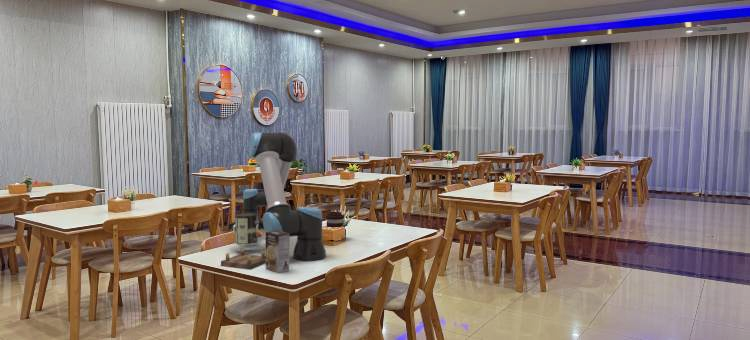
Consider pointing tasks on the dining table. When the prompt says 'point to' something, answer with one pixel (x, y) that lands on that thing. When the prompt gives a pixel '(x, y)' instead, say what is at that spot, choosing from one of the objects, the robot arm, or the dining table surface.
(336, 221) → the coffee cup
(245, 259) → the standoff plate
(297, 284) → the dining table surface
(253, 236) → the coffee can
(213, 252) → the dining table surface
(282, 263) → the coffee box
